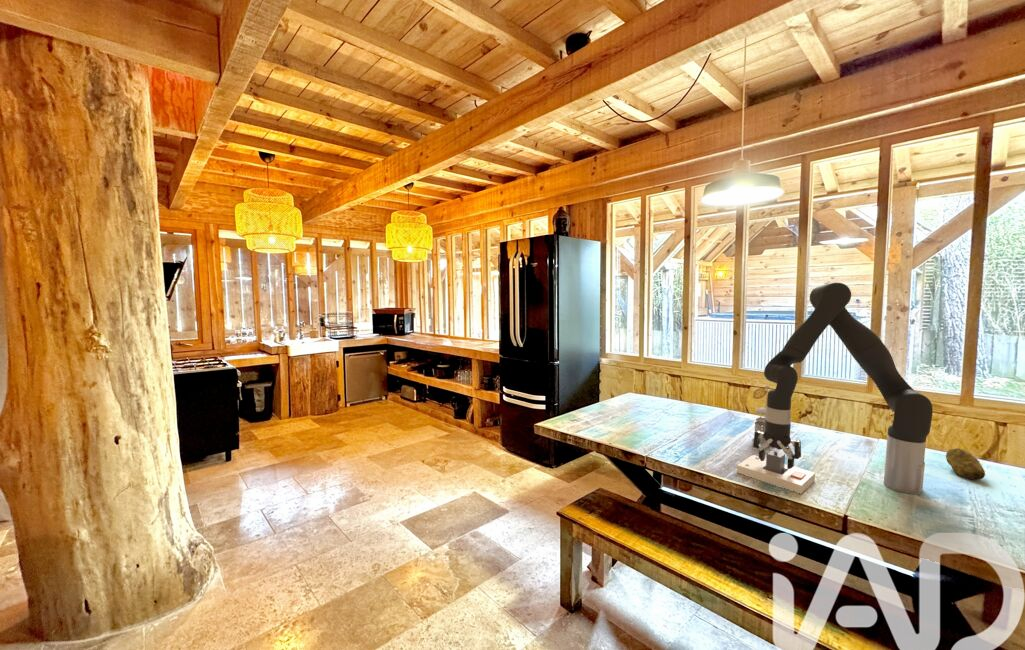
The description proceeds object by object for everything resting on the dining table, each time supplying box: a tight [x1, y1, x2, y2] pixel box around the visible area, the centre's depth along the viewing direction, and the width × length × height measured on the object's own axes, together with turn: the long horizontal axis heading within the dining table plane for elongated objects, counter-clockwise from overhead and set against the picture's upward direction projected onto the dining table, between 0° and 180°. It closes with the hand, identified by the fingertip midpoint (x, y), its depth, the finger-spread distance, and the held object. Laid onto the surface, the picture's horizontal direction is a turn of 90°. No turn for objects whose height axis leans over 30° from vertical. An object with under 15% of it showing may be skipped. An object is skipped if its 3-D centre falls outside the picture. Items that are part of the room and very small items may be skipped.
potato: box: [945, 448, 986, 481], centre depth 147 cm, size 8×13×8 cm, turn 143°
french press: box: [751, 385, 771, 447], centre depth 176 cm, size 10×12×25 cm
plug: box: [765, 450, 786, 475], centre depth 146 cm, size 4×4×9 cm
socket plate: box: [736, 454, 816, 495], centre depth 146 cm, size 20×14×4 cm
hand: (775, 464), depth 146 cm, fingers open, 8 cm apart
